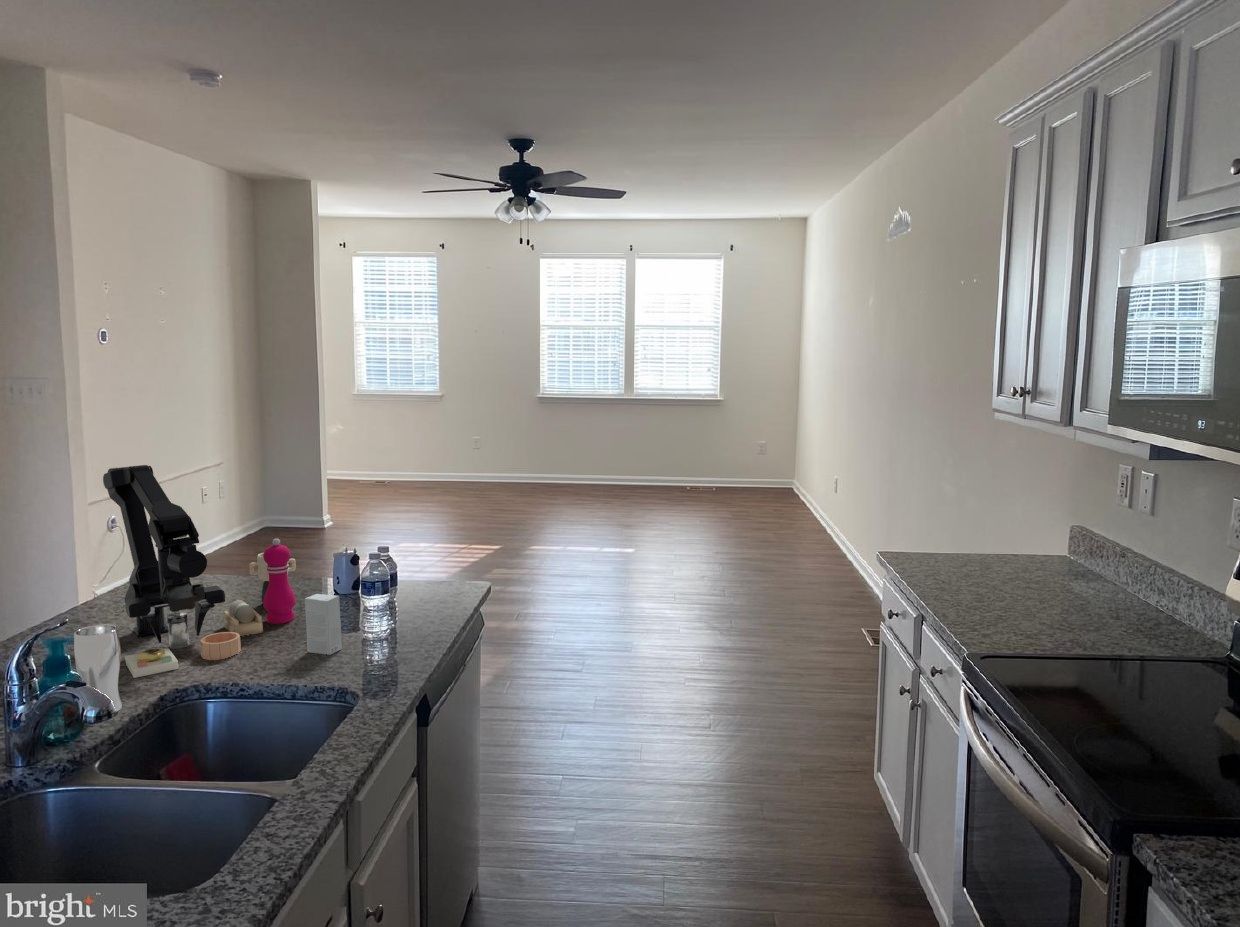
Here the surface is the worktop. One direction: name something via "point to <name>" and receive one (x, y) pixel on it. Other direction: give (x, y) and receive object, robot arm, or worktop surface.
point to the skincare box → (323, 624)
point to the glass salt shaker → (178, 630)
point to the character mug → (263, 573)
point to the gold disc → (151, 655)
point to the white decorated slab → (151, 664)
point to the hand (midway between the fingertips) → (178, 638)
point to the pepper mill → (278, 585)
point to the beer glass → (99, 659)
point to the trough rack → (242, 619)
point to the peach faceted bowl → (220, 645)
